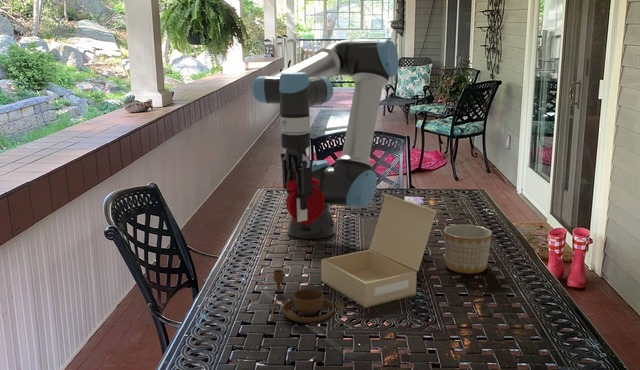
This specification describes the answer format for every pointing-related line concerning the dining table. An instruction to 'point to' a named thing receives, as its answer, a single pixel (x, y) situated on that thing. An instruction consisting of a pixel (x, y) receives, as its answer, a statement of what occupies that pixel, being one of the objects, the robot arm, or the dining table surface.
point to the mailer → (368, 278)
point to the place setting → (304, 303)
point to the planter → (467, 248)
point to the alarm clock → (313, 202)
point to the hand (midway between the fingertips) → (297, 218)
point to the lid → (402, 231)
